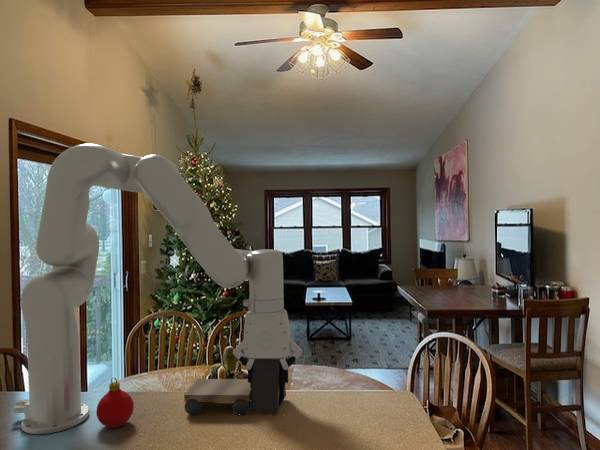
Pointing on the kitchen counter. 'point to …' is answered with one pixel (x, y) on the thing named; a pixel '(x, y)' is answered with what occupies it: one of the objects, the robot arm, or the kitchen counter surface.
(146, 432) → the kitchen counter surface
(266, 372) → the phone stand
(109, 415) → the christmas ornament
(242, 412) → the trolley
